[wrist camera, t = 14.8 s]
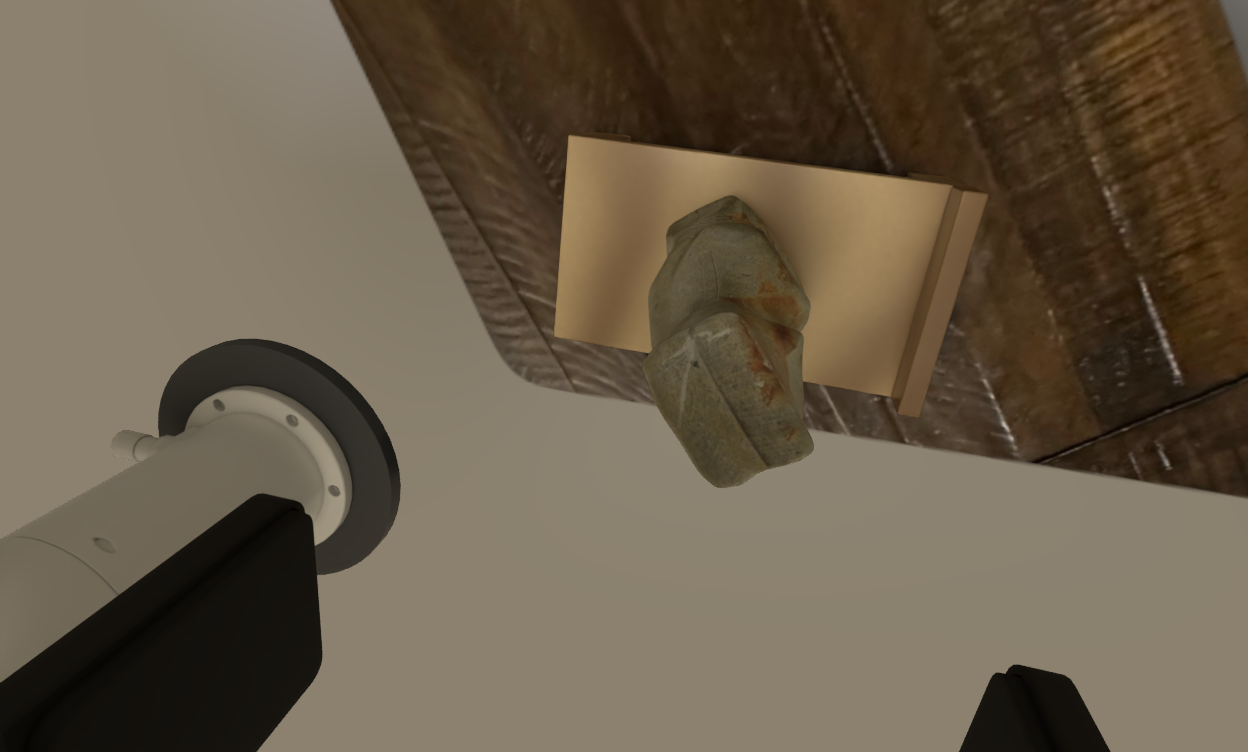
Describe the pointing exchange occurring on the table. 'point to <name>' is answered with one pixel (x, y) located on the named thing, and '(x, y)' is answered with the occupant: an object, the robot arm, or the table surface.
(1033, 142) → the table surface
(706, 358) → the sculpture
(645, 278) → the shelf
